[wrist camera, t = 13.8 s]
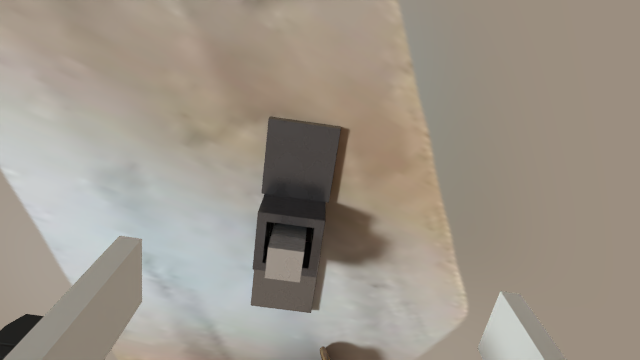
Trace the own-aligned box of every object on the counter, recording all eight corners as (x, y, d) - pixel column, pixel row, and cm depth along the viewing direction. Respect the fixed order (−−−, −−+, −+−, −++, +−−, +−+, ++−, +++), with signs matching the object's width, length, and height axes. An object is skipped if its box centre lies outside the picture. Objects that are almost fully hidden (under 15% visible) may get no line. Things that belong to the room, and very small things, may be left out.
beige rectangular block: (279, 205, 49) (268, 247, 40) (308, 209, 49) (304, 252, 40) (276, 231, 50) (264, 278, 41) (305, 235, 51) (299, 282, 41)
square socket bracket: (270, 116, 45) (261, 129, 40) (340, 126, 46) (342, 140, 40) (252, 300, 54) (243, 332, 49) (311, 308, 54) (309, 340, 49)
